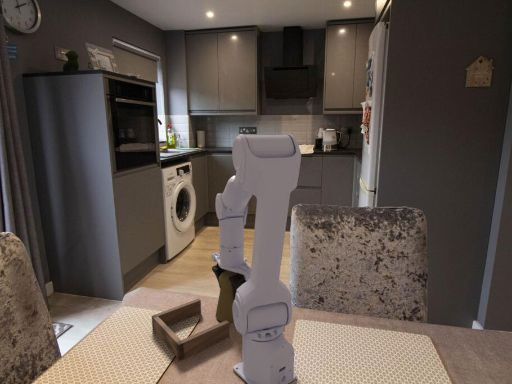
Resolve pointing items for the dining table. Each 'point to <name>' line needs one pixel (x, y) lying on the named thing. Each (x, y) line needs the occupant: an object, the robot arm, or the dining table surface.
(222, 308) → the olive pawn shape
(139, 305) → the dining table surface
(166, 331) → the open u-shaped frame
